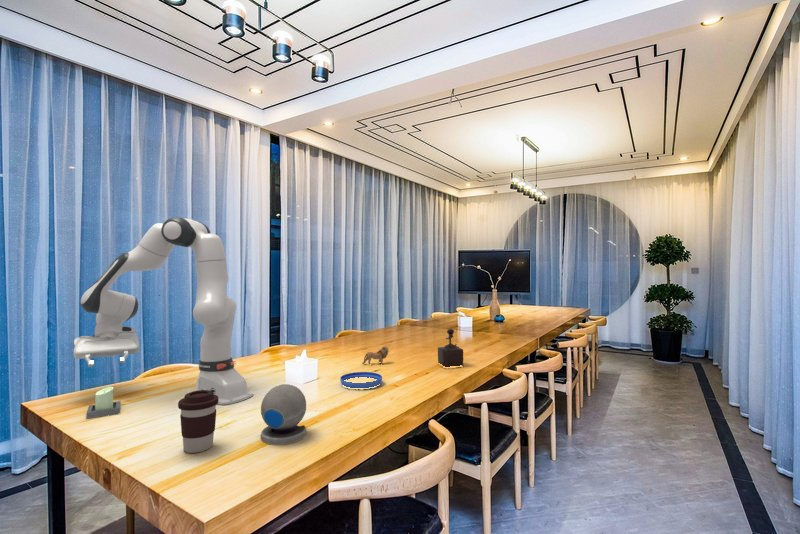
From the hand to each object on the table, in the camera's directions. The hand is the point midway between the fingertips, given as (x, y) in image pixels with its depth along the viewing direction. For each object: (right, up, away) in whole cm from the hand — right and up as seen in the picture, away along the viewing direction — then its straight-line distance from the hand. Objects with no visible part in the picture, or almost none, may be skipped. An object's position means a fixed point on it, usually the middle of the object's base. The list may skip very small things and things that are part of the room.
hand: (106, 364), depth 147 cm
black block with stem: (+135, -15, +61) cm, 149 cm away
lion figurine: (+96, -15, +62) cm, 116 cm away
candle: (+7, -14, -10) cm, 19 cm away
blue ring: (+92, -15, +24) cm, 96 cm away
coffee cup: (+53, -14, -38) cm, 67 cm away
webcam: (+74, -14, -30) cm, 81 cm away
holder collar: (+7, -14, -10) cm, 19 cm away
